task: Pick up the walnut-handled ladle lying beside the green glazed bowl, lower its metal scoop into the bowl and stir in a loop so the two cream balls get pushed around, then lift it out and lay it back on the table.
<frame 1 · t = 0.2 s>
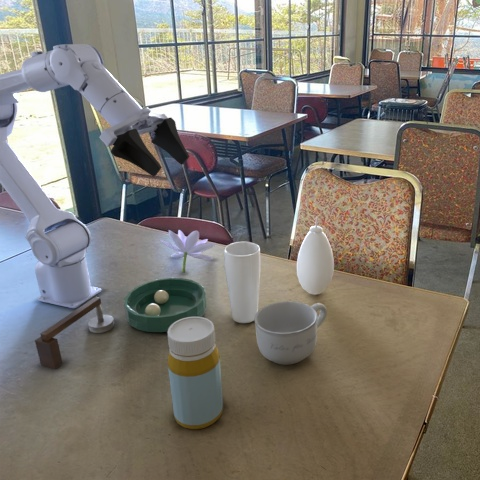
hand: (172, 166, 80), 31 cm above the table, tool tilted 45°, fingers open, 7 cm apart
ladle: (101, 326, 91), on the table
bottle: (199, 415, 71), on the table
ball b: (152, 310, 92), point 2 cm above the table, touching bowl
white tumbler: (245, 318, 95), on the table
teacup: (294, 351, 86), on the table
sauce bottle: (314, 293, 105), on the table
bowl: (167, 313, 96), on the table
ball a: (161, 297, 97), point 2 cm above the table, touching bowl
water lily: (192, 264, 116), on the table
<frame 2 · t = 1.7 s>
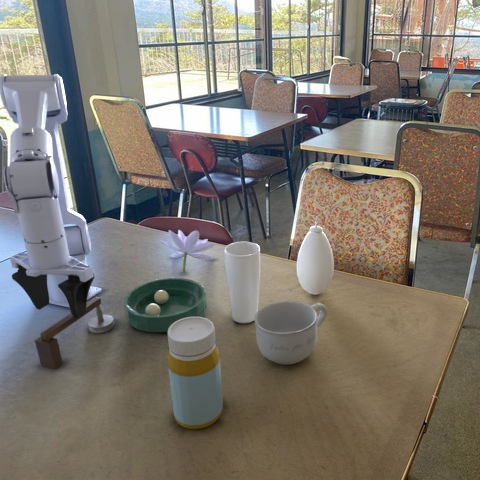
hand: (61, 310, 81), 8 cm above the table, tool pointing down, fingers open, 7 cm apart
nothing on the table moved.
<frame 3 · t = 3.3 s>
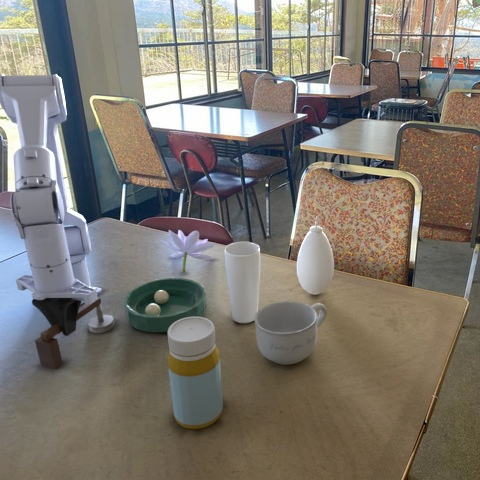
hand: (65, 331, 82), 4 cm above the table, tool pointing down, fingers closed on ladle
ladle: (101, 326, 91), on the table, touching gripper
everything else where it was.
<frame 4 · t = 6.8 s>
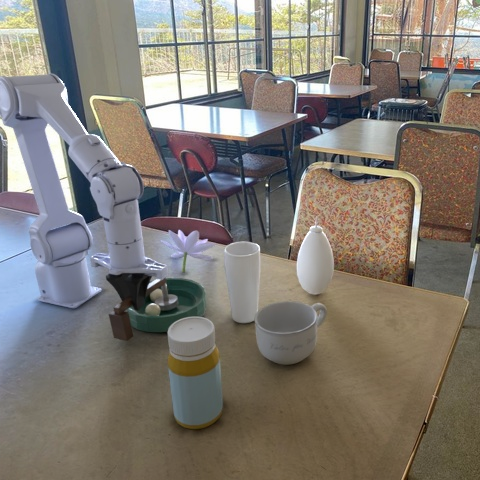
hand: (134, 306, 87), 6 cm above the table, tool pointing down, fingers closed on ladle
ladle: (167, 305, 96), point 2 cm above the table, touching gripper
ball a: (157, 295, 98), point 2 cm above the table, tilted 39°, touching bowl
everything else where it was.
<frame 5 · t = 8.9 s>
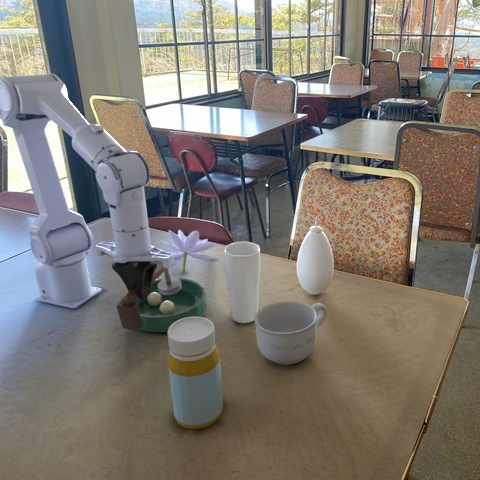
hand: (140, 295, 86), 8 cm above the table, tool pointing down, fingers closed on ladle
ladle: (170, 288, 95), point 5 cm above the table, tilted 7°, touching gripper
ball b: (167, 308, 93), point 2 cm above the table, tilted 84°, touching bowl
ball a: (154, 299, 96), point 2 cm above the table, tilted 15°, touching bowl
everything else where it was.
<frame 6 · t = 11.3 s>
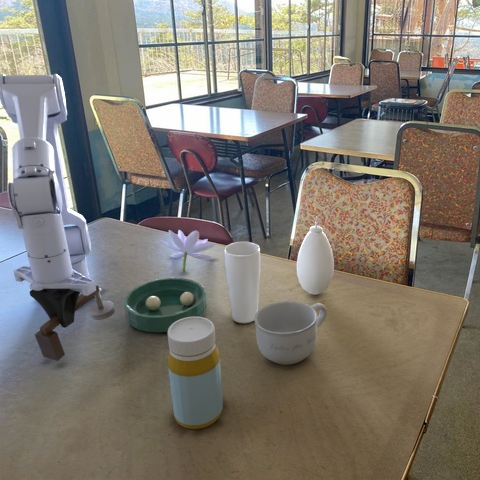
hand: (63, 323, 82), 6 cm above the table, tool pointing down, fingers closed on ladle
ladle: (102, 312, 90), point 3 cm above the table, tilted 7°, touching gripper
ball b: (187, 299, 97), point 2 cm above the table, tilted 86°, touching bowl
ball a: (153, 303, 95), point 2 cm above the table, tilted 75°, touching bowl
everything else where it was.
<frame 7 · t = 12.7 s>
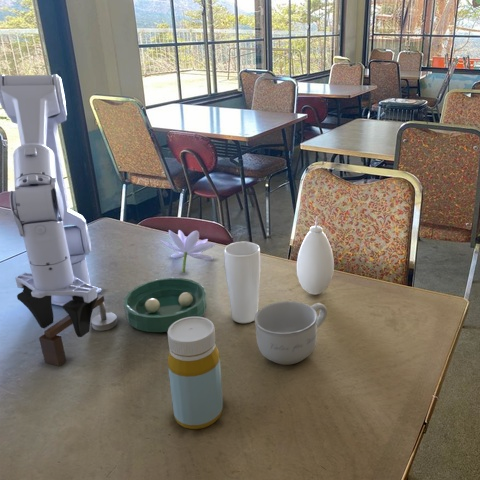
hand: (65, 329, 82), 4 cm above the table, tool pointing down, fingers open, 7 cm apart
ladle: (105, 324, 92), on the table
ball b: (185, 299, 96), point 2 cm above the table, tilted 100°, touching bowl
ball a: (152, 305, 94), point 2 cm above the table, tilted 111°, touching bowl
everything else where it was.
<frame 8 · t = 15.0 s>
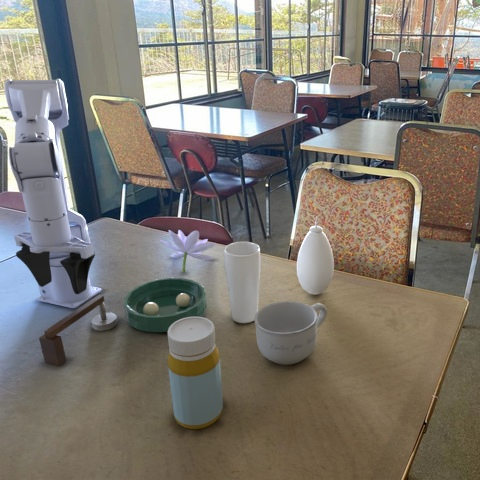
hand: (63, 287, 84), 10 cm above the table, tool pointing down, fingers open, 7 cm apart
ball b: (183, 300, 96), point 2 cm above the table, tilted 122°, touching bowl
ball a: (150, 309, 93), point 2 cm above the table, tilted 167°, touching bowl
everything else where it was.
at the end: ball a moved 4.8 cm from its start; ball a inside the target area in the bowl (3.1 cm from its centre), point 2.2 cm above the bowl's base; the gripper is holding nothing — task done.
